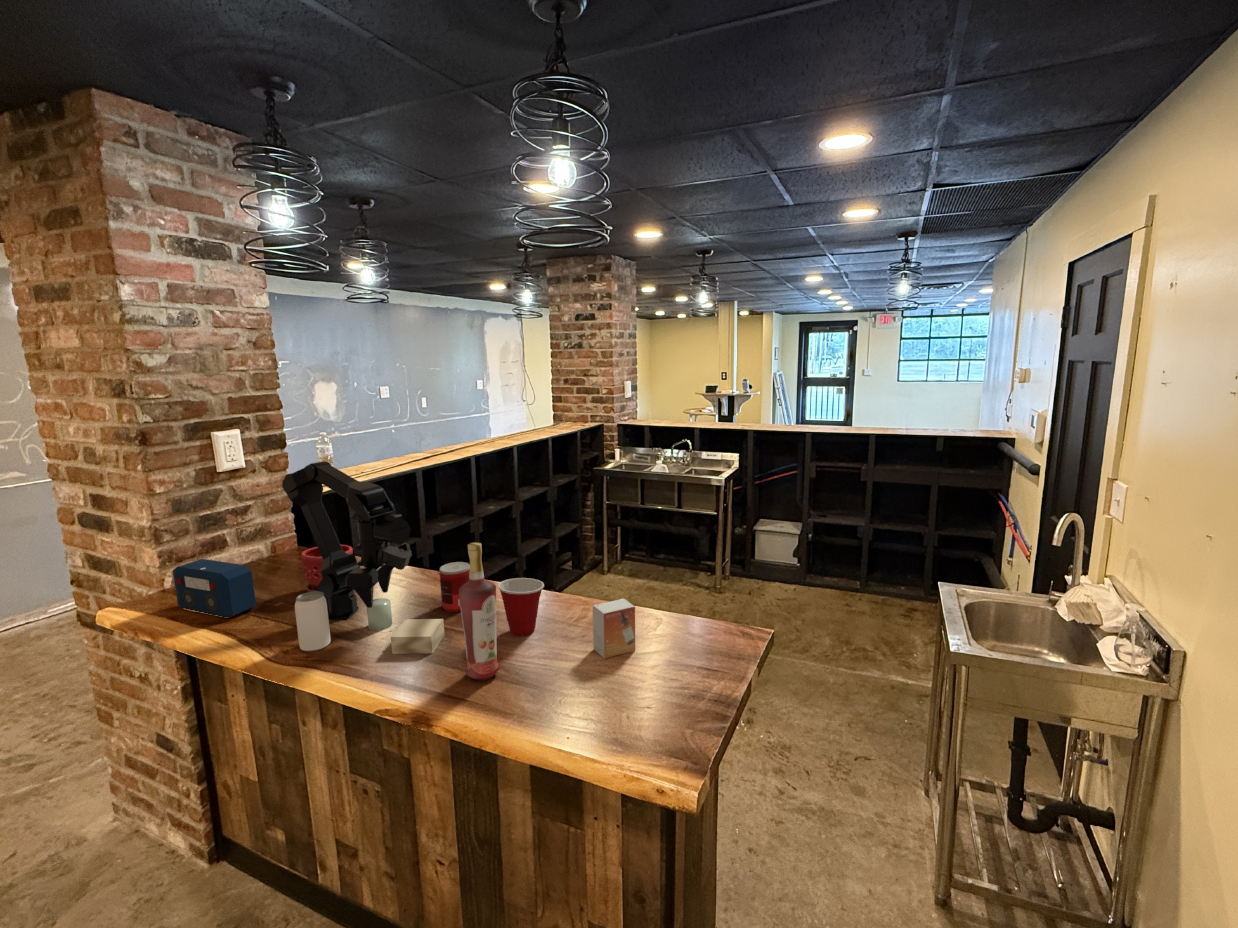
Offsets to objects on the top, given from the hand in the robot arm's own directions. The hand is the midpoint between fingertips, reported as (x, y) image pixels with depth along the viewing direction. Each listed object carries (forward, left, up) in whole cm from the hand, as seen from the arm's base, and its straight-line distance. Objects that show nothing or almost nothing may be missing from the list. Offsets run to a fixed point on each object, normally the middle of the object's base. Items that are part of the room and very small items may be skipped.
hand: (377, 599), depth 145 cm
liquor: (+31, -24, -7) cm, 40 cm away
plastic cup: (+36, -4, -7) cm, 37 cm away
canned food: (+16, +11, -7) cm, 21 cm away
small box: (+58, -14, -7) cm, 60 cm away
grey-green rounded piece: (0, 0, -7) cm, 7 cm away
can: (-11, -10, -7) cm, 16 cm away
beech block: (+13, -10, -7) cm, 18 cm away
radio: (-48, +11, -7) cm, 50 cm away
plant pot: (-24, +24, -7) cm, 35 cm away
